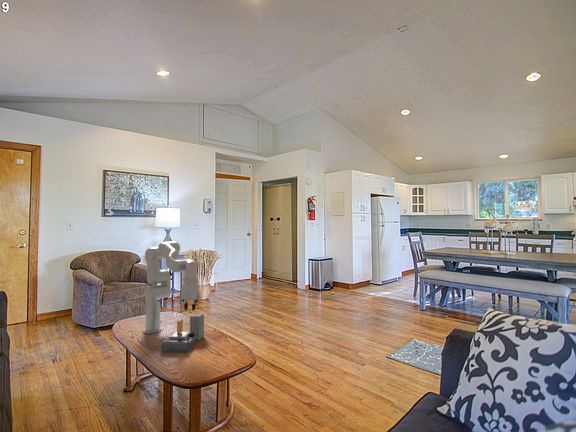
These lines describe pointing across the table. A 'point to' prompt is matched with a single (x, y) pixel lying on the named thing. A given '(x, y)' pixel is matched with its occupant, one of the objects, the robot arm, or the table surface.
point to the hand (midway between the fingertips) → (189, 309)
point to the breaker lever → (179, 326)
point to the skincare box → (197, 325)
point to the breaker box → (179, 342)
